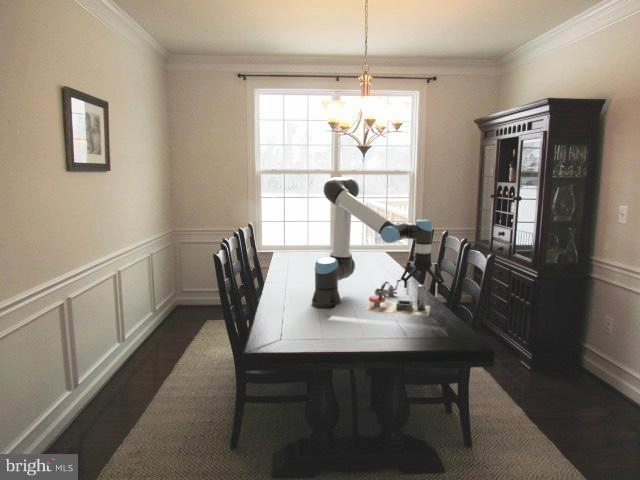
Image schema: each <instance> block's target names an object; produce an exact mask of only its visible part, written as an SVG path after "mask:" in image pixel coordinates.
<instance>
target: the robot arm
mask: <svg viewBox="0 0 640 480" xmlns="http://www.w3.org/2000/svg"><path fill="white" fill-rule="evenodd" d="M359 193H360V187H359V183H358V182H357V180H355V179H354V178H352V177H347V176H344V177H343V176H341V177H331V178H330V179H328V180H327V181H326V182H325V184H324V186H323V194H324V196H325V198H326V199H327V200H328V201H329V202H330V203H332V204H333V206H334V224H333V225H334V227H333V246H332V251H331V252H330V253H329V254H330V255H329V257H323V258H319V259H317V260H316V261H315V263H314V265H315V266H314V278H315V279H314V285H315V286H314V287H315V289H314V292H313V295H312V299H311V305H312V306H313V307H315V308H319V309H333V308H335V307H336V306H337V305H339V304H341V303H342V298H341V295H340V292H339V287H338V286H339V285H338V284H339V281H341V280H343V279H346V278H349V277H350V276H351V275H353V274H354V272H355V270H356V262H355V260H354V259H353V254H352V252H351V251H350V243H351V226H352V225H351V222H352V216H353V217H355V218H356V219H358V220H359V221H360V222H362V223H364V225H366V226H367V227H369V228H370V229H372V231H374V232H376V233H378V234H379V235H380V237H381V239H382V241H383V242H384V243H387V244H389V243H390V244H392V243H396V242H399V241H400V240H401V241H402V240H404V239H405V240H407V239H408V240H414V241H415V242H414V244H415V246H414V252H415V253H414V261H411V260H409V261H408V262H407V266H406V267H405V270H404V271H403V274H402V275H401V276H400V280H401V281H403V285H404V287H403V288H404V289H406V292H405V295H406V296H408V295H409V287H410V285H409V283H410V280H409V279H411V277H412V276H413V275H414V274H415V273H417V272H419V273H420V272H423V273H426V272H428V274H429V275H430V276H431V277H432V278H433V280H434V281H435V282H436V283H435V291H434V292H435V295H434V297H435V298H437V297H438V291H440V290H441V284H444V282H445V279H444V277H443V275H442V273H441V271H440V269H439V265H438V262H434V263H432V245H433V244H432V241H433V239H432V238H433V222H432V220H430V219H417V220H415V223H413V222H412V223H410V222H402V221H399V222H397V221H395V222H391V221H390V220H388V219H387V218H385V217H384V216H382V215H381V214H379V213H378V212H377V211H375V210H374V209H372V208H371V207H369V206H368V205H366V204H365V203H363V202H362V201H361V200H360V199H358V198H357V197H358V195H359ZM413 266H414V269H412V271H411V272H410V273H409V274H408V275H407V273H408V271H409V270H410V268H411V267H413ZM431 267H433V269H434V270H435V272H436V274H437V275H436V274H435V273H434V272H433V270H432V269H431ZM406 275H407V276H406ZM437 276H438V277H437Z"/></svg>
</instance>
